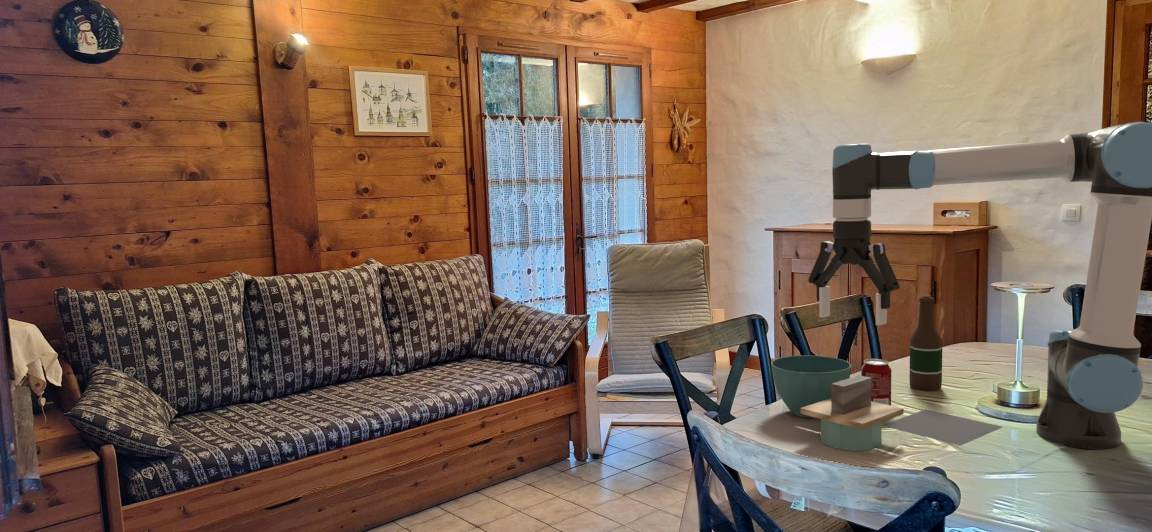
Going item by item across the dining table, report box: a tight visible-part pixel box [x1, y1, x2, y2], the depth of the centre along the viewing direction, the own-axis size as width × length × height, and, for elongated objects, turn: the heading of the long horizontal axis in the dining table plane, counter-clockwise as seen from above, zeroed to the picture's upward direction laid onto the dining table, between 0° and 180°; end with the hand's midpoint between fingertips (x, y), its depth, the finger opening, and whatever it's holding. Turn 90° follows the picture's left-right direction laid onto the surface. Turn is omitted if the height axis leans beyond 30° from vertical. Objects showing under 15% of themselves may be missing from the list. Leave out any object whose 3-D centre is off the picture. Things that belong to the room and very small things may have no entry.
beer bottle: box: [909, 296, 943, 392], centre depth 210 cm, size 8×8×24 cm
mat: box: [882, 409, 1003, 446], centre depth 178 cm, size 18×18×1 cm
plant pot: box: [770, 354, 852, 419], centre depth 191 cm, size 18×18×12 cm
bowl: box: [820, 419, 883, 452], centre depth 171 cm, size 12×12×6 cm
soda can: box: [860, 358, 892, 406], centre depth 192 cm, size 7×7×12 cm
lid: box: [800, 374, 905, 430], centre depth 171 cm, size 15×15×7 cm
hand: (852, 320), depth 169 cm, fingers open, 13 cm apart
